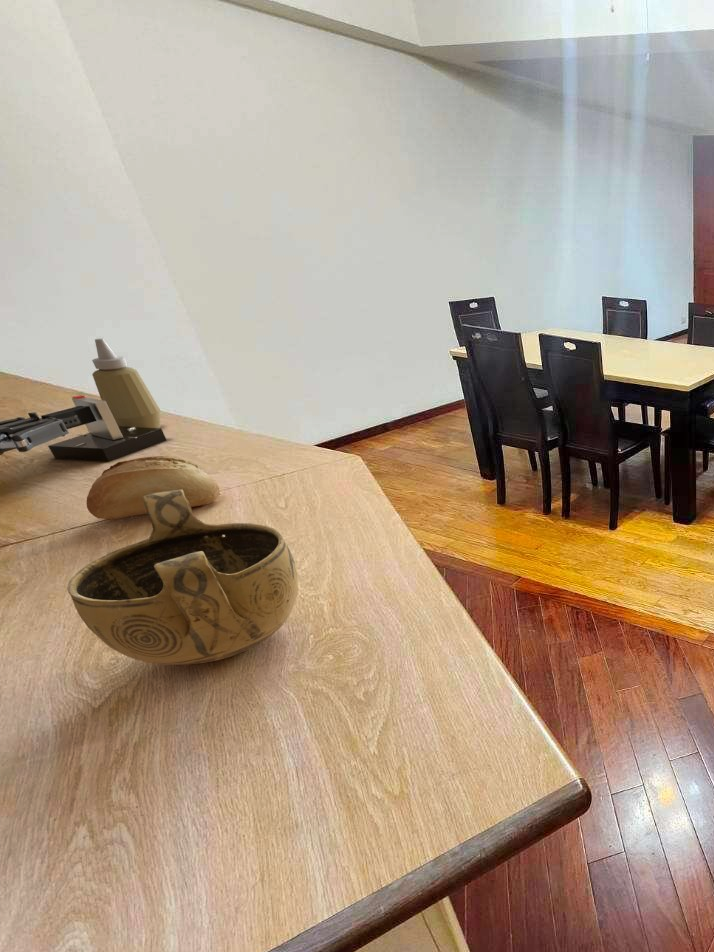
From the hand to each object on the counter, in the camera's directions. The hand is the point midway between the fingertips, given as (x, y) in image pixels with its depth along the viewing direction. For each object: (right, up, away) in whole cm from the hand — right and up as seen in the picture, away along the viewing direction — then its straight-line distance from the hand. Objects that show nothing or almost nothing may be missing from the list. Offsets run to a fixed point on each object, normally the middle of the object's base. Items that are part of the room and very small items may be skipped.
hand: (87, 413), depth 107 cm
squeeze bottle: (-5, 0, +15) cm, 16 cm away
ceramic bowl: (+62, -36, -42) cm, 83 cm away
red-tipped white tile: (0, -3, +4) cm, 5 cm away
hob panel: (-1, -6, +5) cm, 8 cm away
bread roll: (+29, -19, -16) cm, 38 cm away
